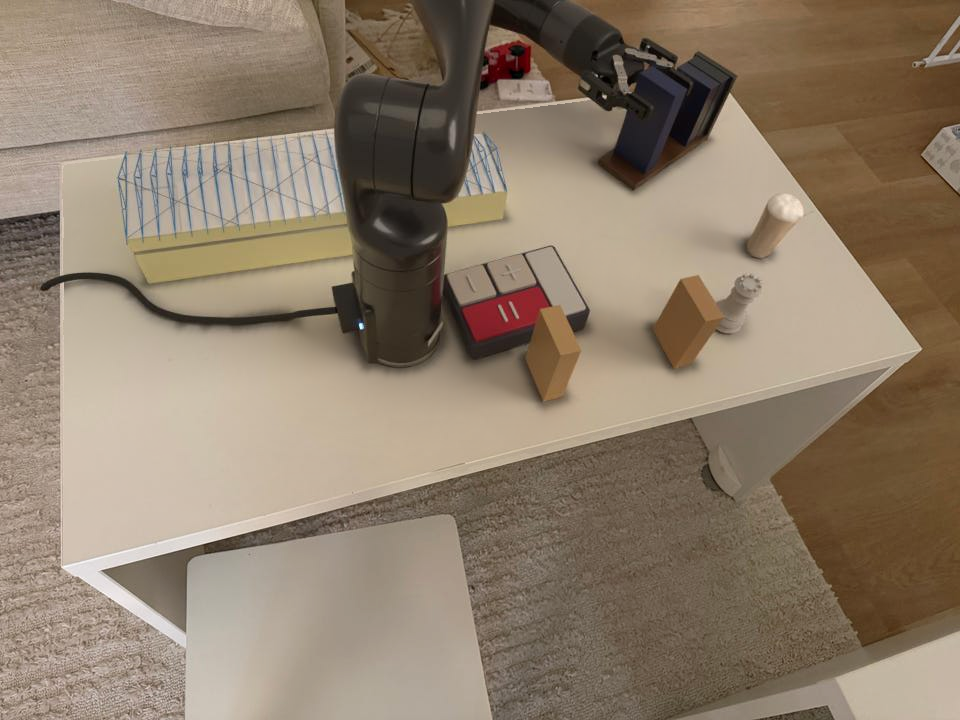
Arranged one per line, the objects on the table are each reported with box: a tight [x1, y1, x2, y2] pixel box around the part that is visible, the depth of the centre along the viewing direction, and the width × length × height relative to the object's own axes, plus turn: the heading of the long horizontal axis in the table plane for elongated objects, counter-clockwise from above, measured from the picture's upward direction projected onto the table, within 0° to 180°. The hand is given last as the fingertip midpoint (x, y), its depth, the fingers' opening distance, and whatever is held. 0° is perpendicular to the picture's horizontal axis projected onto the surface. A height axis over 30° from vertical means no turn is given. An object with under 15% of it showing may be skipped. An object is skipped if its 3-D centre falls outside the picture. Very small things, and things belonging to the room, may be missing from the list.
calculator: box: [443, 245, 591, 360], centre depth 80 cm, size 11×4×15 cm
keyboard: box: [116, 130, 508, 284], centre depth 83 cm, size 45×15×10 cm, turn 105°
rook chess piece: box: [715, 273, 763, 334], centre depth 81 cm, size 4×4×8 cm
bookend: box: [597, 50, 738, 192], centre depth 95 cm, size 18×7×11 cm, turn 133°
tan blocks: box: [524, 274, 724, 402], centre depth 75 cm, size 19×6×10 cm, turn 108°
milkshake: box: [745, 192, 814, 259], centre depth 87 cm, size 4×5×10 cm
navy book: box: [613, 66, 687, 174], centre depth 92 cm, size 3×6×13 cm, turn 43°
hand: (670, 102), depth 87 cm, fingers open, 8 cm apart
